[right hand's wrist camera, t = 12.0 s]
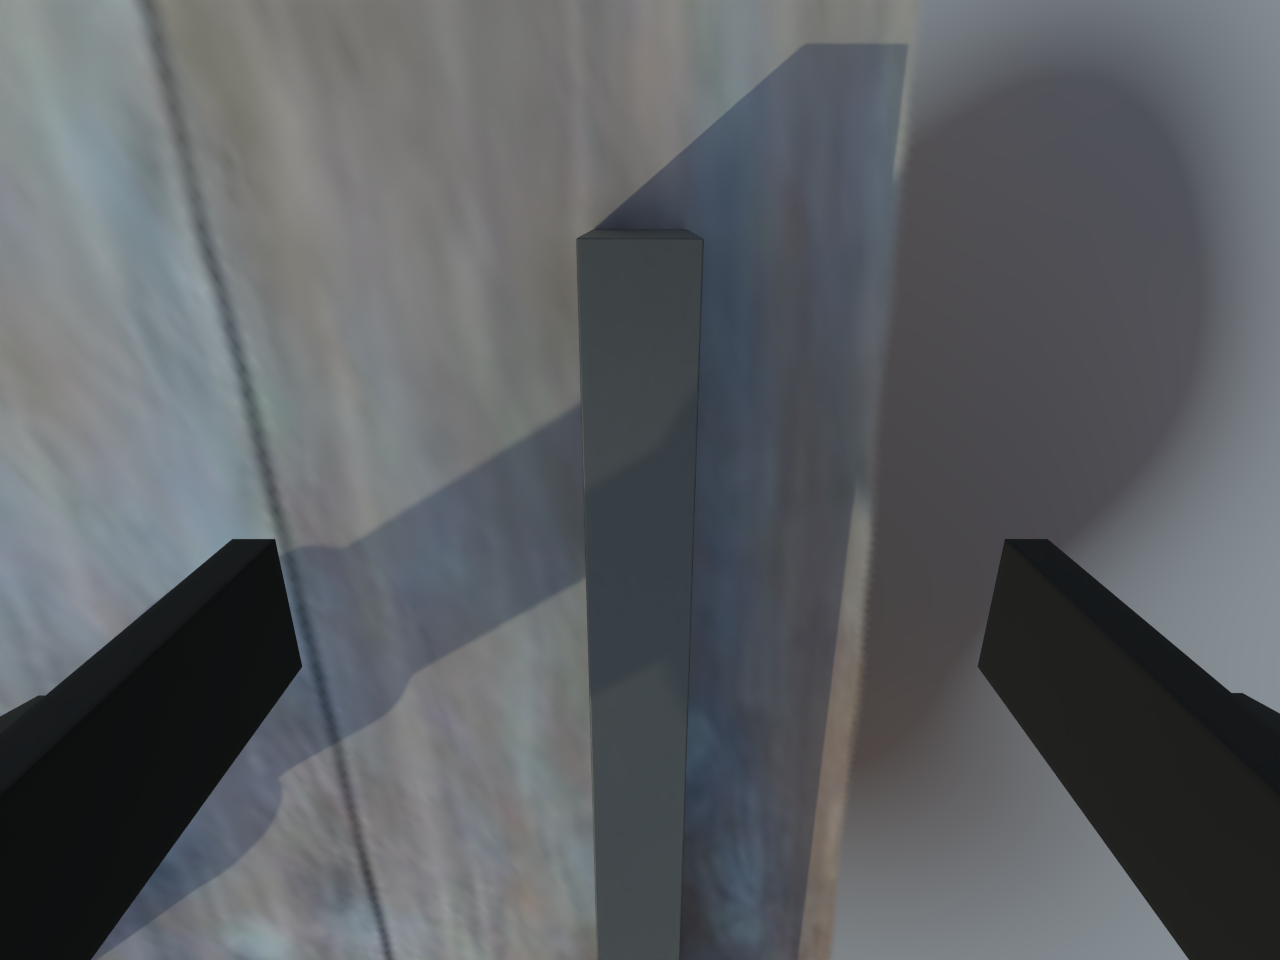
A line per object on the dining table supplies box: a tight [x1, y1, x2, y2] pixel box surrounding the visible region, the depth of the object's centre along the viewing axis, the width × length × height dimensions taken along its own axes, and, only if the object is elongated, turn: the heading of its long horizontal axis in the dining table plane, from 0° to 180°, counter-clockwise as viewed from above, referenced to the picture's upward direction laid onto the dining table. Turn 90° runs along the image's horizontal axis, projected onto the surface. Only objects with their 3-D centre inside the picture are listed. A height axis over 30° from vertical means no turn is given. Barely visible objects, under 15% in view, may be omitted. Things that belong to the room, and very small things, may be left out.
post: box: [576, 230, 703, 960], centre depth 44 cm, size 83×4×9 cm, turn 0°
